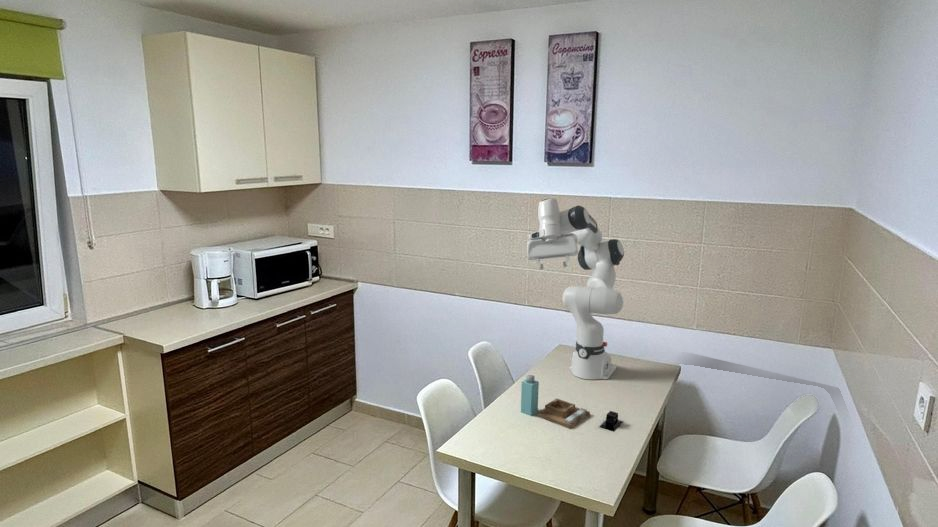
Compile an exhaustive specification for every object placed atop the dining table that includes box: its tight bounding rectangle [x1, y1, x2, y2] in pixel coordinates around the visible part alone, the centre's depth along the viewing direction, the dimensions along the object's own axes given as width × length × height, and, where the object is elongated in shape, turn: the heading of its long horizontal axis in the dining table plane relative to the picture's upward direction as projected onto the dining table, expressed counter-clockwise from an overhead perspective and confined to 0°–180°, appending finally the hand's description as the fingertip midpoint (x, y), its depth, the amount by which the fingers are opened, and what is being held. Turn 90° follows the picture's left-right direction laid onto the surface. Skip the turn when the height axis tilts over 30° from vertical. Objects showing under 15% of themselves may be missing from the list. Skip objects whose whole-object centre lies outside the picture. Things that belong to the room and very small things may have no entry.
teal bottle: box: [520, 374, 540, 417], centre depth 200 cm, size 4×4×14 cm
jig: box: [536, 398, 591, 430], centre depth 199 cm, size 14×14×4 cm
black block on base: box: [599, 410, 624, 433], centre depth 193 cm, size 12×7×5 cm, turn 144°
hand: (553, 267), depth 214 cm, fingers open, 8 cm apart
